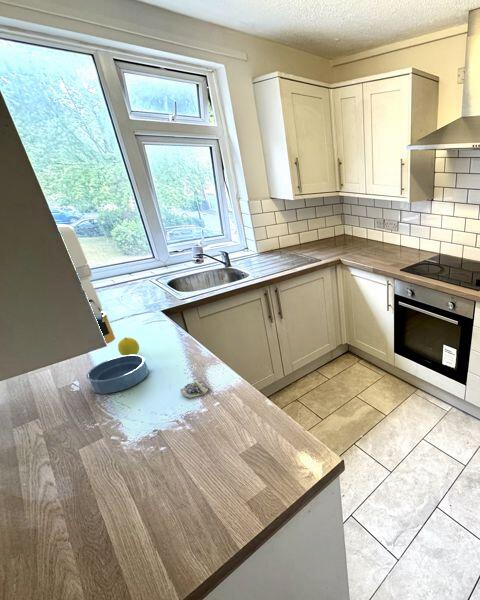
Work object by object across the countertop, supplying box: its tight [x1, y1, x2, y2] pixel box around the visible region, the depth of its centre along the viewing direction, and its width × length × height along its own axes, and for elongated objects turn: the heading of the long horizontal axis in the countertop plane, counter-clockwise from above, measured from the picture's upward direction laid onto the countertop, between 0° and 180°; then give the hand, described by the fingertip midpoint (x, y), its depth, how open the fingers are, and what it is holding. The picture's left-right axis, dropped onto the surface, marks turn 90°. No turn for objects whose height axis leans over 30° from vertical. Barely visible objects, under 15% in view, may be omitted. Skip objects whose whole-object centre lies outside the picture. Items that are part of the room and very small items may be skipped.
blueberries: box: [179, 381, 209, 399], centre depth 99 cm, size 7×8×2 cm
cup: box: [101, 310, 116, 345], centre depth 93 cm, size 7×7×8 cm
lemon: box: [117, 336, 140, 356], centre depth 114 cm, size 6×6×8 cm
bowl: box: [86, 354, 150, 395], centre depth 103 cm, size 14×14×5 cm
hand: (96, 331), depth 93 cm, fingers closed on cup, 6 cm apart
